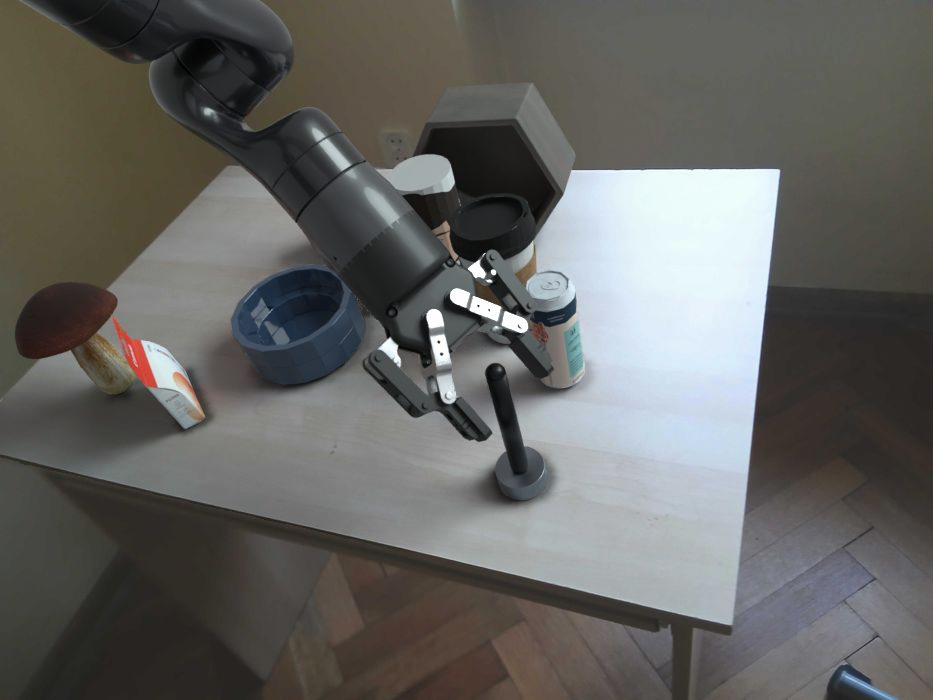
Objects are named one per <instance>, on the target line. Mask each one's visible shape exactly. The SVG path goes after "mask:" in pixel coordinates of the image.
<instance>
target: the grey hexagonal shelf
mask: <svg viewBox="0 0 933 700" xmlns="http://www.w3.org/2000/svg"><path fill="white" fill-rule="evenodd" d="M427 154H435V155H439V156H443V157H444V158H446V159H448V161H449V163H450V164H451V168H452V172H453V176H454V180H455V184H456V188H457V192H458V196H459V200H460V204H461V205H462V204H464V203H465V202H467V201H469V200H471V199H474V198H477V197H480V196H484V195H490V194H499V193H507V194H515V195H519V196H521V197H523V198H524V199H525V200H526V201H527V203H528V205H529V208H530V211H531V214H532V216H533V217H534V219H535V225H536V235H535V238H534V239H533V241H534V242H535V240H536V238H537V236H538V234H539V233H540V232H541V230H542V228H544V225H545V224H546V223H547V221H548V220H549V218H550V216H551V215H552V213H553V212H554V210H555V209H556V207H557V206H558V205H559V203H560V201H561V200H562V198H563V196H564V195H565V192H566V189H567V186H568V183H569V180H570V176H571V172H572V170H573V166H574V164H575V161H576V157H577V154H576V152H575V151H574V149H573V147H572V146H571V144H570V141H568V139H567V137H566V136H565V133H564V132H563V131H562V128H561V127H560V125H559V124H558V122H557V120H556V119H555V118H554V116H553V114H552V112H551V110H550V109H549V107H548V106H547V104H546V102H545V100H544V99H543V97H542V95H541V94H540V93H539V91H538V89H537V87H536V85H535V84H534V83H533V82H532V81H531V82H529V81H528V82H527V81H526V82H513V83H495V84H493V83H492V84H480V85H479V84H477V85H463V86H462V85H461V86H448V87H446V88H444V91H443V93H442V94H441V96H440V98H439V100H437V102H436V105H435V106H434V108H433V109H432V111H431V114H430V115H429V117H428V118H427V120H426V122H425V124H424V126H423V128H422V131H421V133H420V137H419V139H418V141H417V144H416V147H415V149H414V151H413V154H412V157H415V156H420V155H427Z"/></svg>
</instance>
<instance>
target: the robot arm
mask: <svg viewBox="0 0 933 700" xmlns="http://www.w3.org/2000/svg"><path fill="white" fill-rule="evenodd" d="M18 1H20V2H21V3H22V4H24V5H26V6H27V7H29V8H31V9H33V10H34V11H36V12H37V13H39V14H41V15H42V16H43V17H45V18H47V19H49V20H50V21H52V22H53V23H56V24H57V25H59V26H61V27H62V28H64V29H66V30H67V31H69V32H71V33H72V34H73V35H75V36H77V37H79V38H80V39H82V40H84V41H85V42H87V43H89V44H91V45H92V46H93V47H96V49H99V50H100V51H102V52H104V53H105V54H108V55H109V56H111V57H112V58H115V59H117V60H119V61H122V62H124V63H127V64H128V63H129V64H133V65H142V64H148V63H150V65H149V68H148V82H149V83H148V84H149V86H150V90H151V93H152V95H153V98H154V99H155V102H156V103H157V104H158V106H159V107H160V109H161V110H162V111H163V112H164V113H165V114H166V115H167V116H168V117H169V118H170V119H171V120H173V121H174V122H176V123H177V124H178V125H180V126H181V127H182V128H184V129H185V130H187V131H188V132H190V133H192V134H193V135H195V136H196V137H197V138H199V139H201V140H203V141H204V142H206V143H207V144H209V145H211V146H212V147H214V148H215V149H217V150H218V151H220V152H221V153H223V154H224V155H225V156H227V158H229V160H232V161H233V162H234V163H236V164H237V165H238V166H239V167H241V168H242V169H243V170H245V171H246V172H247V173H248V174H249V175H250V176H252V177H253V178H254V179H255V180H256V182H259V184H260V185H262V187H263V188H264V189H265V190H266V191H267V192H268V193H269V194H270V195H271V197H272V198H273V199H274V200H275V201H276V203H278V205H279V206H280V207H281V208H282V209H283V210H284V211H285V213H286V214H287V215H288V216H289V217H290V218H291V219H292V220H293V221H294V222H295V224H296V225H297V226H298V228H299V229H300V230H301V231H302V233H303V235H304V236H305V237H306V238H307V241H308V242H309V243H310V245H311V246H312V248H313V249H314V250H315V252H316V253H317V254H318V256H319V257H320V258H321V259H322V260H323V261H324V264H325V266H328V268H329V269H330V270H332V271H333V272H335V273H336V274H337V275H338V277H339V278H340V279H341V280H342V281H343V282H344V283H345V284H346V286H347V287H348V288H349V289H350V290H351V291H352V292H353V294H354V295H355V298H356V299H358V300H359V302H360V303H361V304H362V305H363V306H364V307H365V308H366V311H367V310H368V311H367V312H369V313H370V314H371V315H372V317H373V318H374V319H375V320H376V321H377V322H379V324H380V325H381V326H382V327H383V329H384V333H385V336H386V339H385V341H383V343H382V344H380V346H379V347H377V349H374V350H372V351H371V352H370V353H369V354H368V355H367V356H365V358H363V360H362V364H361V366H362V368H363V370H364V371H365V372H366V373H367V374H368V375H369V376H370V377H371V378H372V379H373V380H374V382H376V383H377V384H378V385H379V386H380V387H381V388H382V389H383V390H384V391H385V392H386V393H387V394H388V395H389V396H390V397H391V398H392V399H393V400H394V401H395V402H396V403H397V405H399V406H400V407H401V409H403V411H405V412H406V413H407V414H408V415H409V416H410V417H411V418H415V419H417V418H420V417H422V416H423V417H424V416H425V415H429V414H430V413H433V412H438V413H440V414H442V415H443V417H444V418H445V419H446V420H447V421H448V422H449V423H450V424H451V426H452V427H453V428H454V429H455V430H456V431H457V432H458V433H459V435H460V436H461V437H462V438H463V439H465V440H467V441H469V442H471V441H475V442H478V443H481V442H486V441H487V440H489V438H490V437H492V435H493V431H492V429H491V428H490V427H489V426H488V424H487V423H486V422H485V421H484V420H483V419H482V418H481V416H480V415H479V414H478V413H477V412H476V411H475V409H474V408H473V407H472V406H471V405H470V404H469V403H468V402H467V401H466V399H465V398H464V397H463V396H458V397H457V393H456V387H455V383H454V379H453V375H452V370H453V363H452V359H451V354H452V353H454V352H455V351H456V350H457V349H458V348H460V346H461V345H462V344H463V341H464V340H465V339H466V338H467V337H469V336H471V335H472V334H474V333H475V332H476V331H477V332H480V333H487V332H488V333H491V334H494V335H496V336H499V337H501V338H504V339H507V340H509V341H510V342H511V343H510V344H507V347H508V348H509V349H510V350H511V351H512V352H513V353H514V355H515V356H516V357H517V358H518V360H519V361H520V362H521V363H522V364H523V365H524V366H525V367H526V369H527V370H528V371H529V372H530V373H531V374H532V375H533V376H534V378H536V379H538V380H540V379H542V378H545V377H547V376H549V375H550V374H551V373H552V372H553V370H554V367H553V366H552V364H551V362H552V358H551V356H550V354H549V353H548V352H547V350H546V349H545V348H544V347H543V346H542V345H541V343H540V342H539V341H538V340H537V339H536V338H535V336H534V335H533V334H532V333H531V332H530V330H529V327H528V322H529V320H530V317H531V315H532V313H533V312H535V311H536V309H537V303H536V301H535V300H534V299H533V297H532V296H531V295H530V293H529V292H528V291H527V290H526V288H525V287H524V286H523V284H522V283H521V282H520V280H519V279H518V278H517V277H516V275H515V274H514V273H513V271H512V270H511V269H510V267H509V266H508V265H507V264H506V262H505V261H504V260H503V258H502V257H501V256H500V254H499V253H498V252H497V251H496V250H489V251H488V252H486V253H485V254H483V255H482V256H481V257H480V258H479V259H478V260H477V261H476V262H475V264H473V265H472V266H471V267H469V268H468V269H467V268H465V267H463V266H461V265H459V264H458V263H456V262H455V261H454V259H453V258H452V256H451V254H450V252H449V250H448V249H447V248H446V247H445V246H444V244H443V243H442V242H441V241H440V240H439V239H438V237H437V236H436V235H435V234H434V233H433V232H432V230H431V229H430V228H429V227H428V226H427V225H426V223H425V222H424V221H423V220H422V219H421V218H420V216H419V215H418V214H417V213H416V212H415V211H414V209H413V208H412V207H411V206H410V205H409V204H408V202H407V201H406V200H405V199H404V198H403V197H402V196H401V194H400V193H399V192H398V191H397V190H396V189H395V187H394V186H393V185H392V184H391V183H390V182H389V181H388V179H387V178H386V177H385V176H384V175H382V174H381V173H380V172H379V171H378V170H377V169H376V168H375V167H373V165H372V164H370V162H368V160H367V158H365V156H364V155H363V154H362V153H361V151H360V150H359V149H358V148H357V147H356V146H355V145H354V144H353V142H352V141H351V140H350V139H349V138H348V137H347V135H346V134H345V133H344V132H343V131H342V130H341V128H340V127H339V126H338V124H337V123H335V121H334V120H332V119H333V118H331V117H330V116H329V115H328V114H327V113H326V112H325V111H323V110H322V109H319V107H315V106H305V107H301V108H298V109H296V110H294V111H292V112H290V113H288V114H286V115H285V116H283V117H281V118H279V119H278V120H275V122H273V123H271V124H269V125H267V126H266V127H262V128H260V129H256V130H254V129H253V128H252V127H250V126H249V125H248V124H247V122H246V121H245V120H246V119H247V118H248V116H250V115H251V114H252V113H253V112H254V111H255V110H256V109H258V107H259V106H260V105H261V104H262V103H263V102H264V101H265V100H266V98H267V97H269V96H270V95H271V93H272V92H273V91H274V90H276V88H278V86H280V85H281V84H282V82H283V81H284V80H285V79H287V77H288V75H289V74H290V72H291V71H292V68H293V66H294V62H295V46H294V43H293V38H292V35H291V33H290V31H289V30H288V28H287V26H286V24H285V23H284V22H283V20H282V18H280V17H279V15H278V14H276V13H275V12H274V11H273V10H272V9H271V8H270V7H269V6H268V5H267V4H265V3H264V2H263V1H261V0H18ZM476 281H478V282H479V283H480V284H482V285H484V286H488V287H489V288H490V290H491V291H492V292H493V293H494V295H495V296H496V297H497V299H498V300H499V301H500V302H501V304H502V305H503V306H504V308H505V309H506V310H507V312H506V311H504V310H503V308H502V307H500V306H497V305H495V304H492V303H490V302H487V301H485V300H482V299H480V298H478V292H477V286H476ZM488 333H487V334H488ZM398 350H401V351H404V352H405V351H406V352H409V353H413V354H416V356H417V360H418V361H417V362H418V366H419V370H420V374H421V378H422V379H423V380H424V381H425V385H426V386H425V387H426V390H427V393H425V391H424V390H423V389H422V388H421V387H419V386H418V384H417V383H416V382H415V381H414V380H413V379H411V378H410V376H409V375H408V374H407V373H406V372H405V371H404V370H403V369H402V368H401V366H402V360H401V357H400V356H399V354H398ZM427 394H428V395H427Z"/></svg>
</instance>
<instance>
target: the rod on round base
mask: <svg viewBox="0 0 933 700" xmlns="http://www.w3.org/2000/svg"><path fill="white" fill-rule="evenodd" d="M484 376H485V381H486V384H487V387H488V391H489V395H490V398H491V401H492V406H493V409H494V410H493V411H494V413H495V416H496V420H497V424H498V427H499V431H500V434H501V435H500V436H501V438H502V442H503V444H504V449H505V451H504V452H503V453H502V454H501V455H500V456H499V457H498V458H497V461H496V463H495V467H494V472H495V475H496V479H497V482H498V485H499V488H500V490H501V492H502V493H503V494H504V495H505V496H506V497H508V498H509V499H511V500H515V501H527V500H531V499H534V498H536V497H538V496H539V495H540V494H541V493H542V492H543V491H544V490H545V488H546V487H547V483H548V472H547V468H546V462H545V459H544V457H543V455H542V454H541V453H540V452H539V451H538V450H536V449H534V448H533V447H529V446H525V443H524V440H523V435H522V432H521V428H520V423H519V419H518V415H517V412H516V407H515V403H514V398H513V394H512V389H511V386H510V382H509V378H508V374H507V369H506V367H504V365H503V364H501V363H499V362H492V363H490V364H488V365H487V366H486V368H485V370H484Z"/></svg>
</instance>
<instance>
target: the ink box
mask: <svg viewBox="0 0 933 700" xmlns="http://www.w3.org/2000/svg"><path fill="white" fill-rule="evenodd" d="M110 318H111V321H112V323H113V326H114V328H115V331H116V335H117V338H118V340H119V344H120V346H121V349H122V352H123V356H124V358H125V359H126V362H127V363H128V365H129V366H130V367H131V369H132V370H133V372H134V373H135V377H137V379H139V381H140V382H141V383H142V384H143V385H144V387H145V388H147V389H148V391H149V392H150V393H151V394H152V396H154V397H155V399H156V400H157V401H158V402H159V403H160V404H161V405H162V406H163V407H164V408H165V410H166V411H167V412H168V413H169V415H171V416H172V418H174V419H175V420H176V421H177V423H178V424H179V425H180V426H181V428H182V429H184V430H187V429H188V428H191V427H193V426H195V425H197V424H200V423H201V422H203V421H204V419H205V418H206V415H205V413H204V411H203V409H202V406H201V403H200V402H199V399H198V397H197V395H196V393H195V390H194V388H193V385H192V383H191V380H190V378H189V375H188V373H187V371H186V370H185V368H184V367H183V366H182V365H181V364H180V363H179V362H178V361H177V360H176V358H175V357H174V356H173V355H172V354H171V353H170V351H169V350H168V349H167V348H166V347H163V346H162V345H160V344H158V343H156V342H152V341H148V340H143V339H135V338H131V337H130V336H129V335H128V333H127V332H126V331H125V330H124V329H123V327H122V326H121V325H120V324H119V322H118V321H117V319H115V317H114V316H113V314H111V317H110ZM122 340H123V341H124V343H123V341H122ZM124 344H125V345H124ZM125 347H126V348H125ZM126 350H127V351H126Z"/></svg>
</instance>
